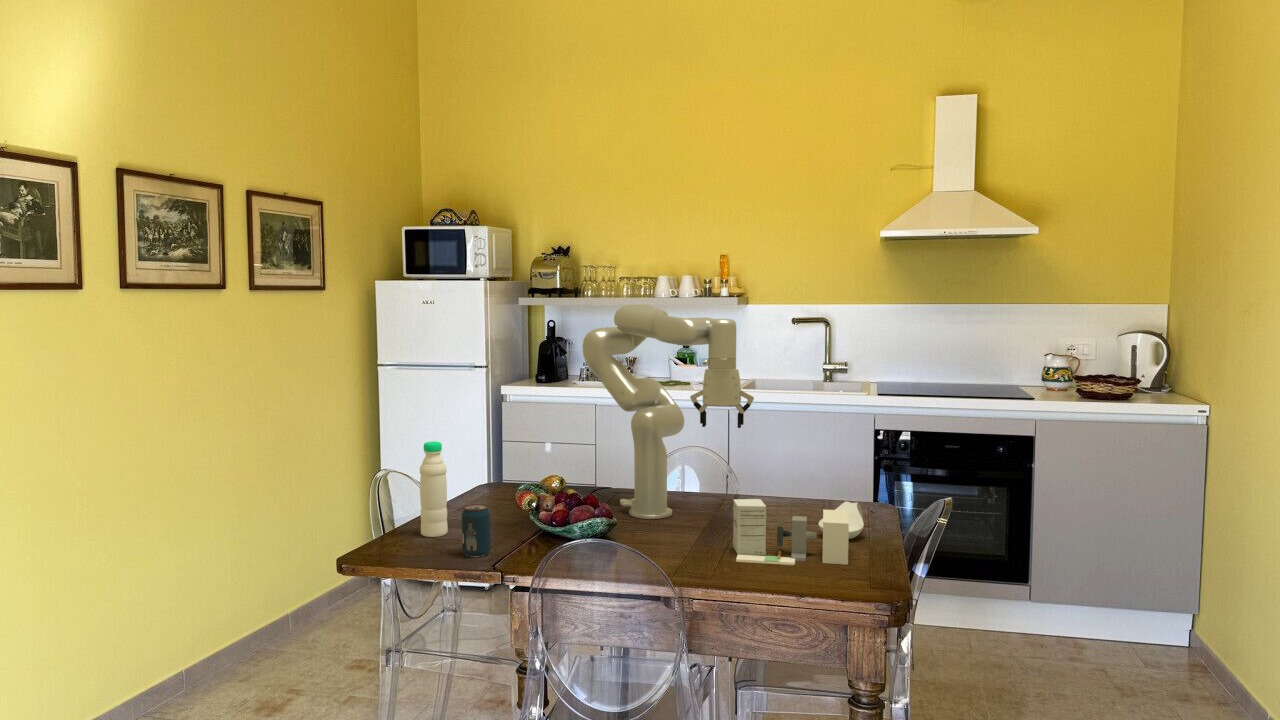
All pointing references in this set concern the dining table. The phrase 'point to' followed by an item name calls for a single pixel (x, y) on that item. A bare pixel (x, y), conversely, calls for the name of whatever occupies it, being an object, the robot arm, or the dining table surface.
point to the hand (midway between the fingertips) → (721, 426)
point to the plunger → (788, 535)
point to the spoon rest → (851, 518)
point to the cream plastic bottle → (433, 492)
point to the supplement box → (749, 527)
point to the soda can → (476, 530)
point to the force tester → (832, 541)
